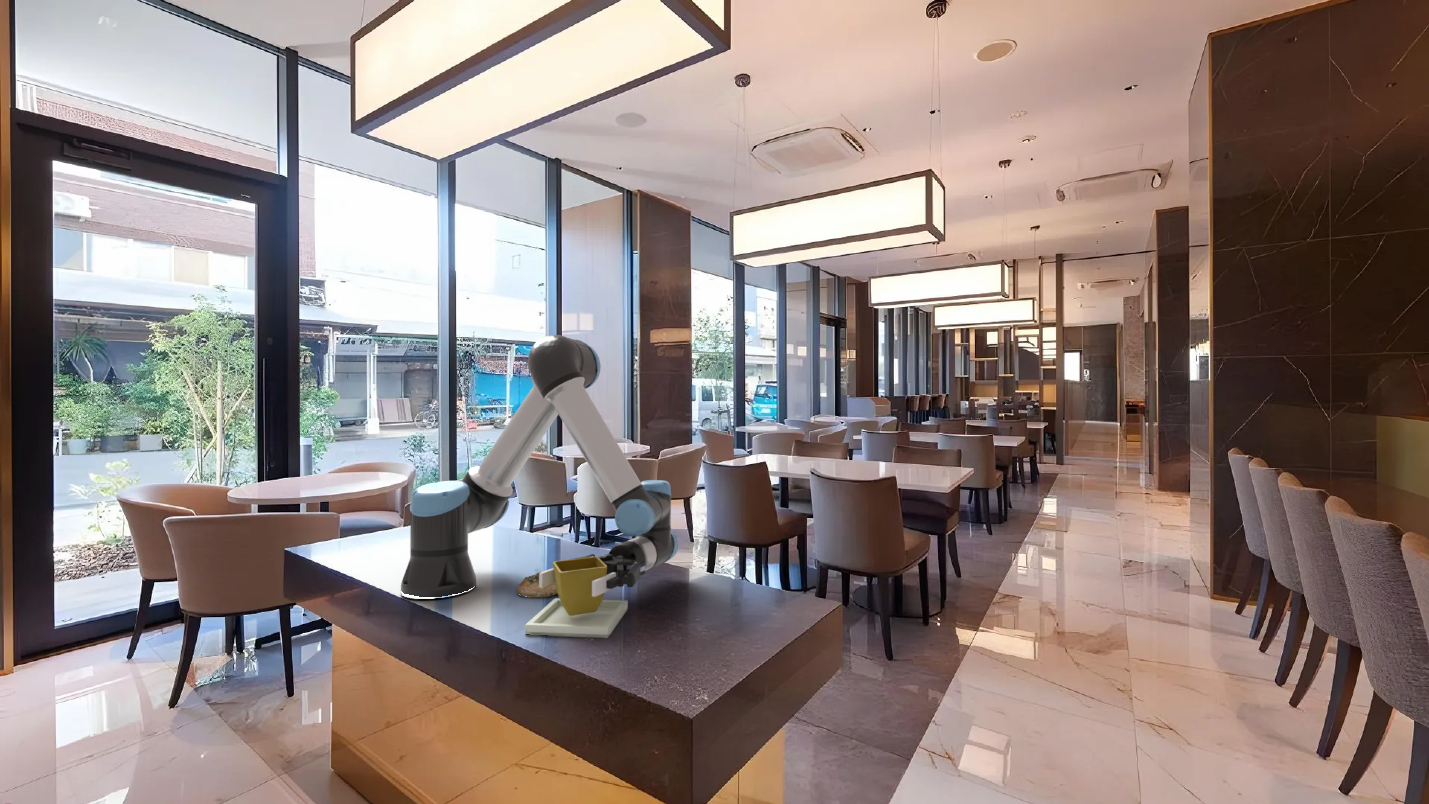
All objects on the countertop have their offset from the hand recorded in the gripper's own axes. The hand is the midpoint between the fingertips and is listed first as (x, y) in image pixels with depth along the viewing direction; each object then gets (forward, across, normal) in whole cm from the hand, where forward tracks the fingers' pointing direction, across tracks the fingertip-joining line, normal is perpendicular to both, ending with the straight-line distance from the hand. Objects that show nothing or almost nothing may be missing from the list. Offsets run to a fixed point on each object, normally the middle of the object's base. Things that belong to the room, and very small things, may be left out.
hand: (566, 584), depth 109 cm
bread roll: (-16, +19, -8) cm, 26 cm away
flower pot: (-4, 0, -6) cm, 7 cm away
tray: (-4, 0, -8) cm, 9 cm away
